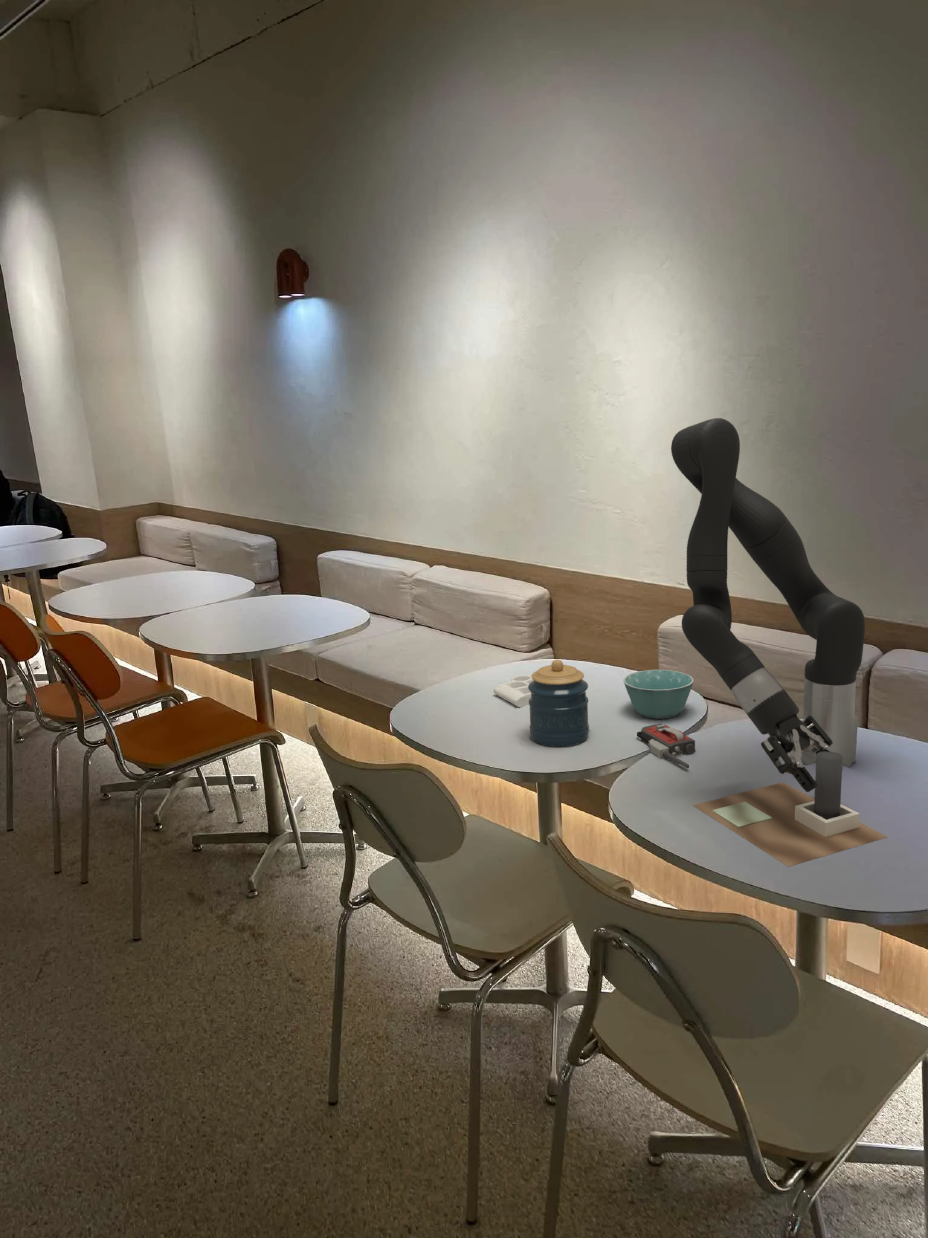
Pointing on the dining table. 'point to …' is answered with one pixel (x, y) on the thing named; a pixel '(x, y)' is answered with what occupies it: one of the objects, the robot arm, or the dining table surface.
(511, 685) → the white brass knuckles
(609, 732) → the dining table surface
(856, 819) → the white square frame
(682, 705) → the bowl
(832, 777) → the plug
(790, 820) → the brown wooden flat board
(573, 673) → the canister
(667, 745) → the walkie-talkie
